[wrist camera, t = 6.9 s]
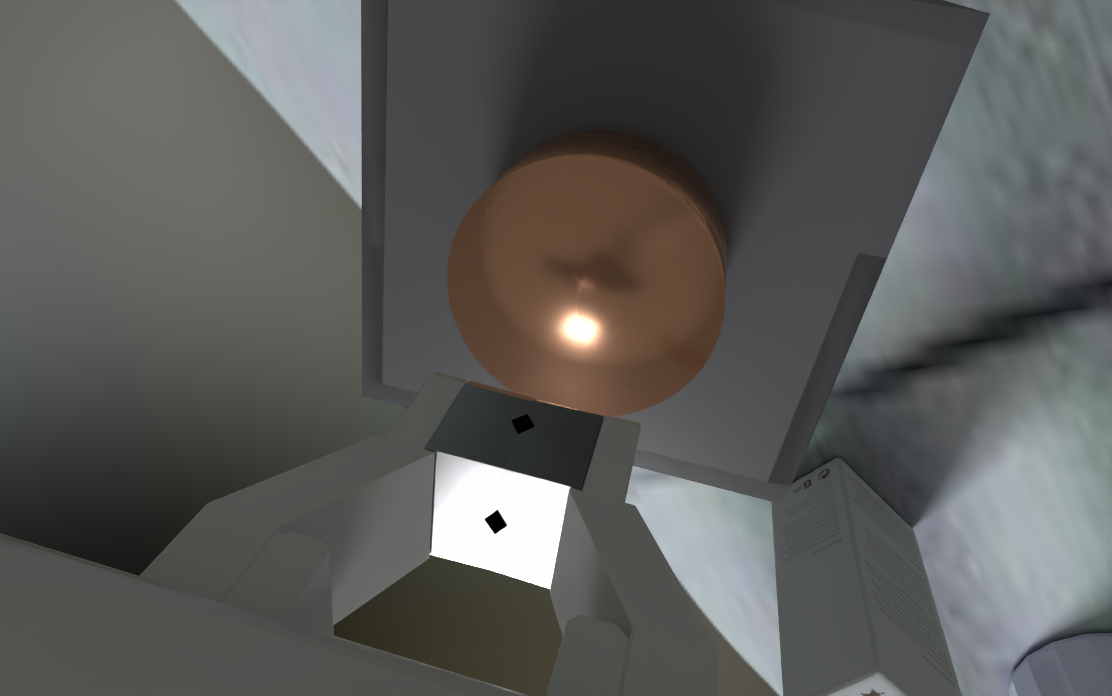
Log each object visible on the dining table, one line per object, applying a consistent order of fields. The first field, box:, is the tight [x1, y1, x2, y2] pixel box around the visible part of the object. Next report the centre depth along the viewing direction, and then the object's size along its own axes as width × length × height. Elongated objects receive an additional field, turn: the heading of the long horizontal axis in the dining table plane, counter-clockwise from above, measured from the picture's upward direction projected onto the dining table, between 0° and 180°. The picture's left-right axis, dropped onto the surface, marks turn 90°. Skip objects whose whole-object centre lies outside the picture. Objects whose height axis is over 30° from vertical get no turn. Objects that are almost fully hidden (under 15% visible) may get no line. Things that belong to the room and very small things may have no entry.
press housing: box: [361, 0, 990, 504], centre depth 22 cm, size 12×12×14 cm
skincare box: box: [771, 458, 962, 696], centre depth 31 cm, size 6×4×12 cm
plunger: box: [447, 130, 727, 417], centre depth 20 cm, size 10×10×15 cm
